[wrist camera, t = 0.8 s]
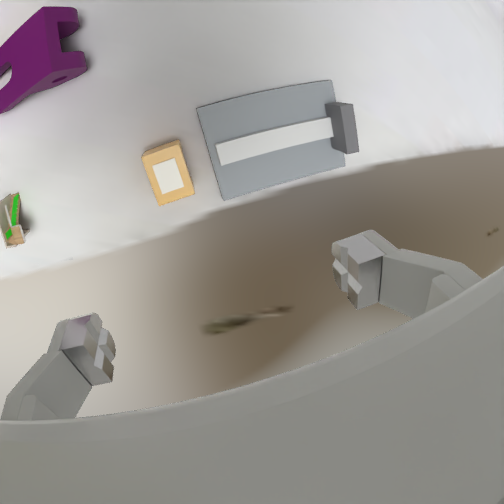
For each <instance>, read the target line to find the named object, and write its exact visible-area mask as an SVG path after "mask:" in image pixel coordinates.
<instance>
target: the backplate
mask: <svg viewBox="0 0 504 504" xmlns="http://www.w3.org/2000/svg"><path fill="white" fill-rule="evenodd" d="M196 109H197V113H198V116H199V119H200V123H201V126H202V130H203V133H204V137H205V140H206V144H207V147H208V150H209V154H210V157H211V161H212V164H213V167H214V171H215V174H216V178H217V181H218V184H219V188H220V191H221V194H222V198H223V200H224V201H225V200H229V199H232V198H235V197H238V196H241V195H245V194H248V193H251V192H254V191H258V190H261V189H264V188H268V187H271V186H275V185H278V184H281V183H285V182H288V181H292V180H296V179H299V178H303V177H306V176H310V175H314V174H317V173H321V172H325V171H329V170H332V169H336V168H340V167H344V166H345V158H344V153H345V154H351V153H355V152H359V146H358V137H357V130H356V123H355V116H354V109H353V104H348V103H339V102H336V99H335V94H334V88H333V83H332V80H327V81H320V82H313V83H306V84H300V85H294V86H288V87H283V88H278V89H272V90H267V91H263V92H258V93H254V94H249V95H245V96H241V97H237V98H233V99H229V100H225V101H221V102H217V103H214V104H210V105H207V106H203V107H200V108H196Z"/></svg>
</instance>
